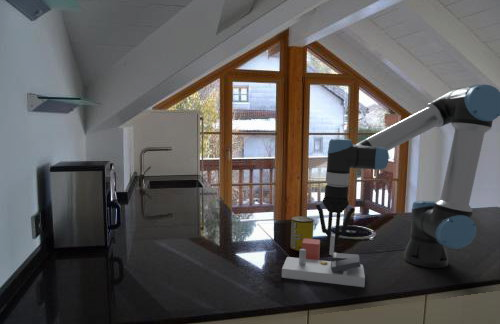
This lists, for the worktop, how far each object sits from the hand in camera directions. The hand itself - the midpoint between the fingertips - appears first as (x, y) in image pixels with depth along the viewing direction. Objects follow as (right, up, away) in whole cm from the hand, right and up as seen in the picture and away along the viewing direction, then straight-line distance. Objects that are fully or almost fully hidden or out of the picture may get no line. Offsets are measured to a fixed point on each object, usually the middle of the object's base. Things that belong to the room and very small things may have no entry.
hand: (331, 253), depth 129 cm
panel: (-3, -7, -2) cm, 8 cm away
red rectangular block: (-5, -6, +10) cm, 13 cm away
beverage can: (-6, -4, +28) cm, 29 cm away
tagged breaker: (+4, -1, -1) cm, 5 cm away
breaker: (+3, -2, -7) cm, 8 cm away
